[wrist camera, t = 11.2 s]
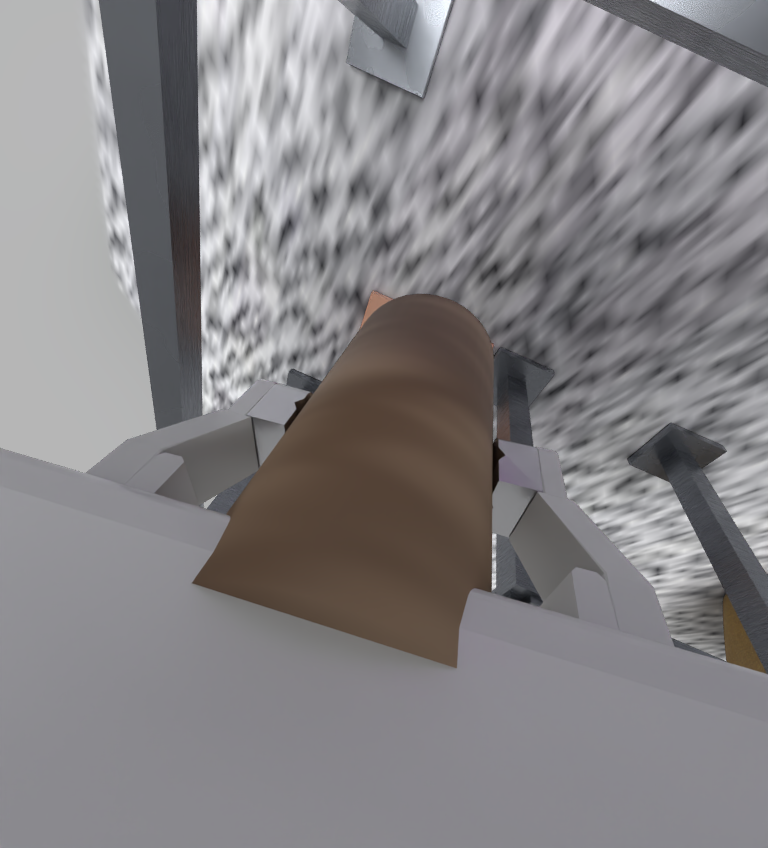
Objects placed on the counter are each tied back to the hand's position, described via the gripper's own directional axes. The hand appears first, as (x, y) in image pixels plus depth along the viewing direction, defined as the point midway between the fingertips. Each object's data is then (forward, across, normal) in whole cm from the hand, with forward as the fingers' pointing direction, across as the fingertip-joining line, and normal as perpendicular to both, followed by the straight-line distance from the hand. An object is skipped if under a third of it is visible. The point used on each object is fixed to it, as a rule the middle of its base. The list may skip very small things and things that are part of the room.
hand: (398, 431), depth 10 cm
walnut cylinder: (+4, 0, 0) cm, 4 cm away
